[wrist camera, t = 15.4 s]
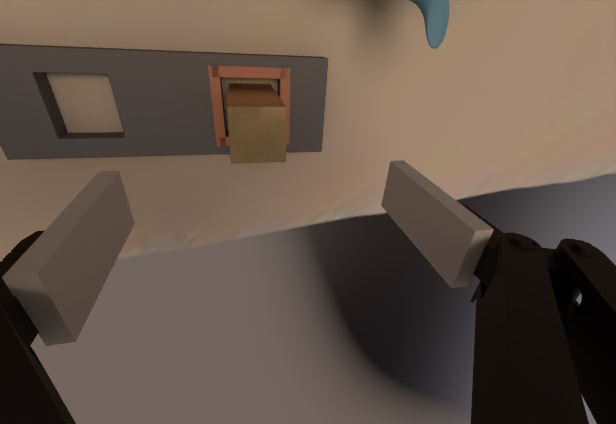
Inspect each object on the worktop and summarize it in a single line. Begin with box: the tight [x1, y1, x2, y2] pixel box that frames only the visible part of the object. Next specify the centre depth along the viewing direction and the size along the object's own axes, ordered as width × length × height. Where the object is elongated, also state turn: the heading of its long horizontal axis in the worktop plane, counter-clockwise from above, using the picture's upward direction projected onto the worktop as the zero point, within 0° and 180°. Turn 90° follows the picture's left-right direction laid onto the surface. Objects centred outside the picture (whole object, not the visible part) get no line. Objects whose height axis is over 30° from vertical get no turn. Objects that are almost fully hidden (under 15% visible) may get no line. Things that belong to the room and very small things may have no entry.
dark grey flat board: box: [0, 44, 328, 160], centre depth 31 cm, size 32×10×2 cm, turn 87°
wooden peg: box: [227, 83, 286, 163], centre depth 28 cm, size 4×4×12 cm
